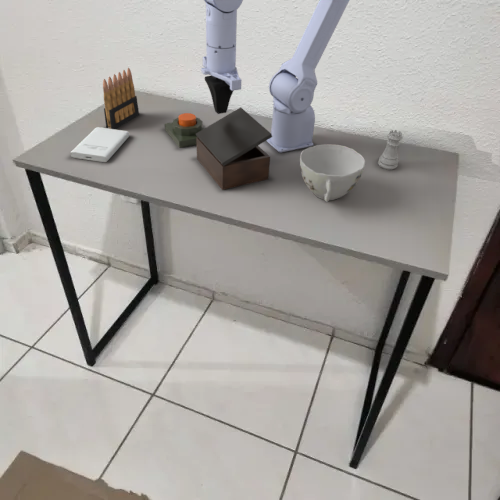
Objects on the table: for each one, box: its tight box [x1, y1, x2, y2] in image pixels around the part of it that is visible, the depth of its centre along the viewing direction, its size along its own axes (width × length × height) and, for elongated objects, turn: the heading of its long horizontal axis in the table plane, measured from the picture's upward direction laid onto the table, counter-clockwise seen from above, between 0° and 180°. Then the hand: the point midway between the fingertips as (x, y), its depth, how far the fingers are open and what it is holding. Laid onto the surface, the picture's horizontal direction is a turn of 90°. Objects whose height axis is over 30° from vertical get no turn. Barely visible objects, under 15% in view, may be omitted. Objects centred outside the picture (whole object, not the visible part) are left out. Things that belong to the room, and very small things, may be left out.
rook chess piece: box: [377, 129, 403, 171], centre depth 103 cm, size 4×4×8 cm
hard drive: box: [69, 126, 130, 163], centre depth 105 cm, size 2×8×12 cm
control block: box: [164, 116, 206, 149], centre depth 111 cm, size 10×8×4 cm
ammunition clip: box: [102, 67, 140, 130], centre depth 112 cm, size 11×2×12 cm, turn 154°
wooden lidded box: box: [196, 137, 271, 191], centre depth 99 cm, size 11×14×5 cm
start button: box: [178, 112, 197, 127], centre depth 109 cm, size 4×4×2 cm
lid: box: [196, 106, 272, 166], centre depth 96 cm, size 11×14×1 cm
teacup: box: [299, 143, 366, 203], centre depth 92 cm, size 15×12×8 cm
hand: (220, 112), depth 98 cm, fingers closed
